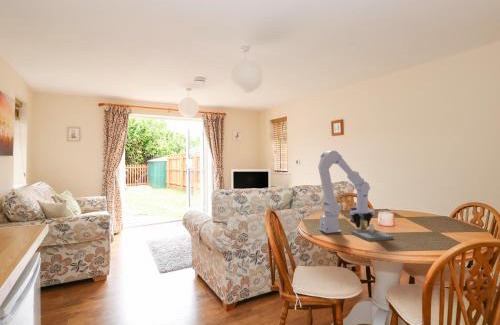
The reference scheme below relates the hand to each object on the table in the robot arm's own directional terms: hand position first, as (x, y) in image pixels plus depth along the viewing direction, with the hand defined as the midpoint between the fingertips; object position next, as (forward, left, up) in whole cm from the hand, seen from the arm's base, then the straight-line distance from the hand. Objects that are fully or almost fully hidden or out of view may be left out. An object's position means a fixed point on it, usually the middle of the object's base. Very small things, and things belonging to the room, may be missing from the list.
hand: (362, 226), depth 157 cm
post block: (-4, -13, -2) cm, 14 cm away
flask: (+10, +18, -2) cm, 21 cm away
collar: (0, 0, -1) cm, 1 cm away
